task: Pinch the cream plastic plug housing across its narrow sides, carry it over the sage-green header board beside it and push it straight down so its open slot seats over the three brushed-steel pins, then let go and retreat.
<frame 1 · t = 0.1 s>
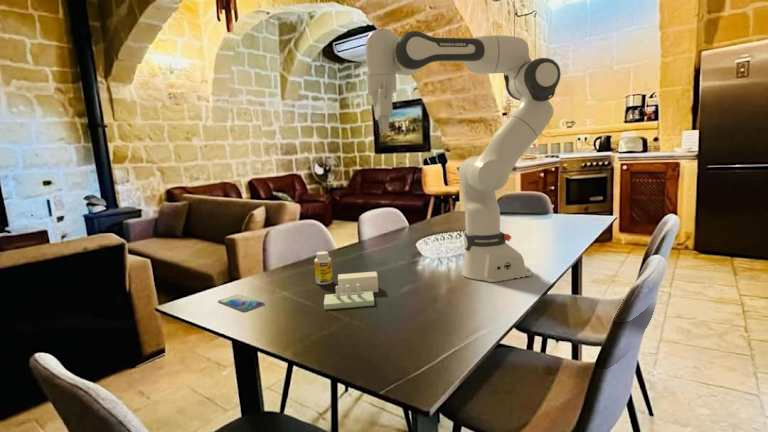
hand: (384, 132, 131), 48 cm above the table, fingers open, 8 cm apart
header board: (349, 302, 122), on the table
smartphone: (241, 305, 126), on the table
supplement bottle: (324, 283, 142), on the table
plug housing: (358, 290, 131), on the table
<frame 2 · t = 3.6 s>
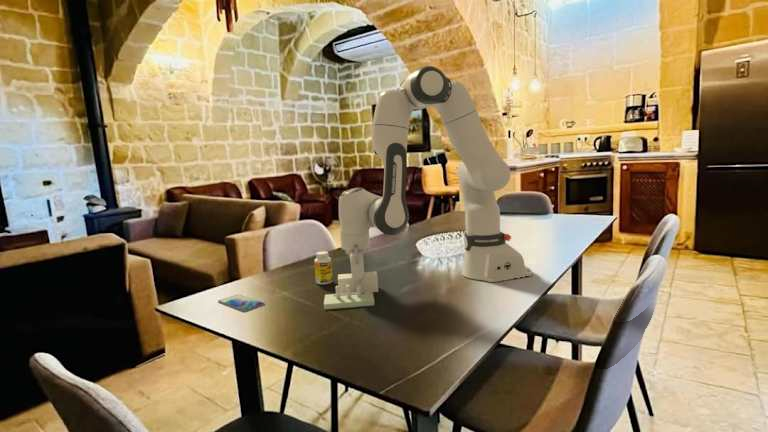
hand: (358, 285, 131), 2 cm above the table, fingers closed on plug housing, 5 cm apart
plug housing: (358, 290, 131), on the table, touching gripper
everything else where it was.
when the fingers open (3 cm above the table, at t = 8.6 s): plug housing stays where it is, resting on header board.
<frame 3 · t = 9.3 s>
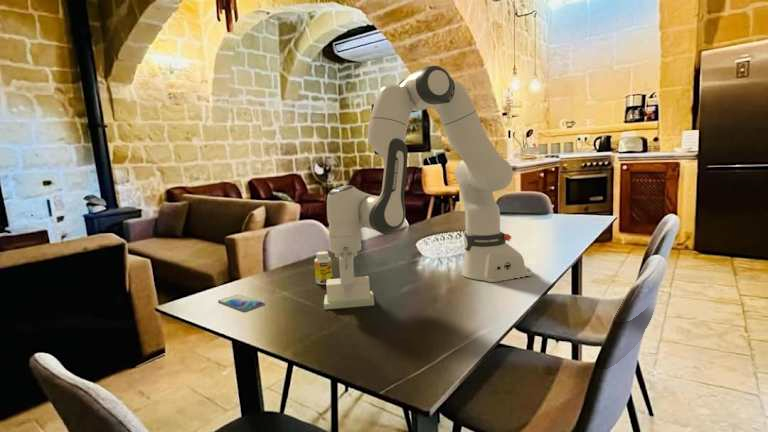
hand: (348, 291, 121), 3 cm above the table, fingers open, 8 cm apart
plug housing: (348, 297, 121), point 2 cm above the table, touching header board
everything else where it was.
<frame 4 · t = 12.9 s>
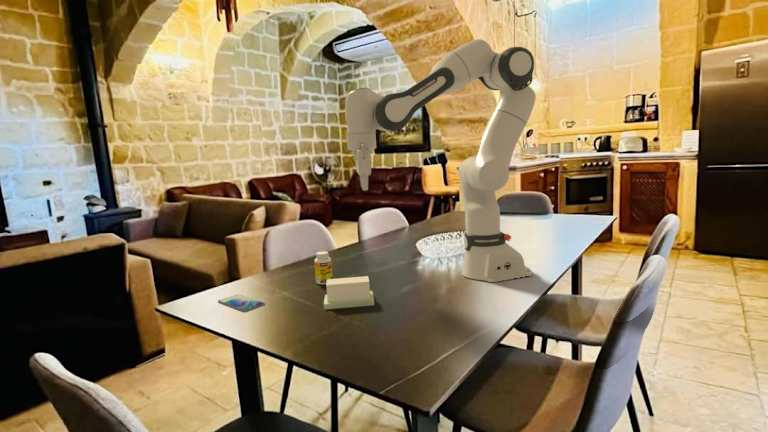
hand: (364, 188, 131), 31 cm above the table, fingers open, 8 cm apart
nothing on the table moved.
at the end: plug housing 0.0 cm off-centre on the header board, point 1.6 cm above the header board's base; plug housing tilted 1°; the gripper is holding nothing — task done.
